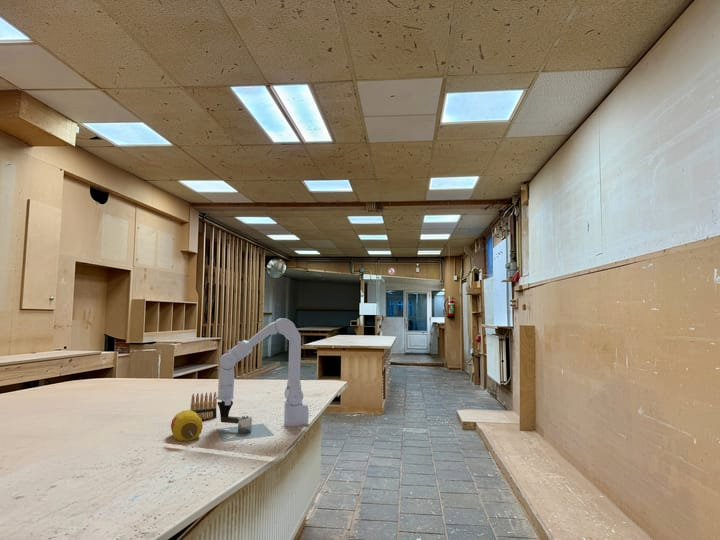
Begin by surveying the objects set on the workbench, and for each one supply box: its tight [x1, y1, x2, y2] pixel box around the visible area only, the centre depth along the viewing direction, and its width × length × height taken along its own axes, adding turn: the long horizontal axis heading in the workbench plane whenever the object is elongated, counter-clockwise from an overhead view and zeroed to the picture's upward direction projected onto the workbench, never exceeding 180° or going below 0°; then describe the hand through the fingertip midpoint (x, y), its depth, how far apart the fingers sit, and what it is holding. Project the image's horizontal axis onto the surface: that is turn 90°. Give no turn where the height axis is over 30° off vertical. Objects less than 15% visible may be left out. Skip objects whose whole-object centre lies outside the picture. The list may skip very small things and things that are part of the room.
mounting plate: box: [216, 423, 275, 443], centre depth 151 cm, size 18×18×1 cm
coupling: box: [220, 415, 253, 433], centre depth 153 cm, size 12×5×5 cm, turn 74°
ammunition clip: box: [189, 391, 218, 423], centre depth 172 cm, size 11×2×12 cm, turn 119°
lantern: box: [170, 409, 203, 442], centre depth 146 cm, size 10×10×30 cm
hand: (224, 421), depth 156 cm, fingers closed, pressing on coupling
